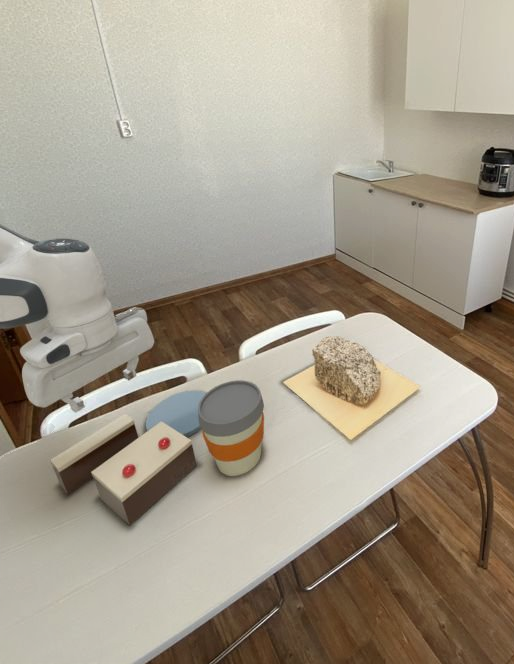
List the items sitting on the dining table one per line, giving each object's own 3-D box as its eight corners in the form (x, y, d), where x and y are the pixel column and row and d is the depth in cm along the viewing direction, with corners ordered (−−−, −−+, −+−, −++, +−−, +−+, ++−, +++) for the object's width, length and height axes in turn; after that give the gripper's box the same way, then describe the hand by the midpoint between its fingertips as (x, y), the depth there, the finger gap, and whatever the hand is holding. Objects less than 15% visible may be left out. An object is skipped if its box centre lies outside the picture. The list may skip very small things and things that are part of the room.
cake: (100, 498, 73) (88, 465, 70) (167, 445, 84) (159, 414, 81) (130, 526, 68) (118, 491, 65) (197, 465, 79) (189, 433, 76)
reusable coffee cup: (233, 427, 89) (224, 374, 84) (280, 441, 85) (274, 387, 79) (194, 473, 78) (181, 415, 72) (246, 492, 74) (236, 432, 68)
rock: (280, 382, 102) (300, 324, 103) (336, 383, 118) (354, 332, 118) (348, 440, 83) (373, 367, 83) (406, 432, 98) (426, 371, 99)
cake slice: (60, 486, 76) (49, 459, 73) (132, 437, 86) (125, 413, 84) (68, 495, 74) (57, 468, 71) (140, 444, 85) (133, 420, 82)
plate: (133, 425, 90) (131, 421, 89) (188, 386, 102) (187, 383, 101) (172, 452, 83) (171, 448, 82) (227, 407, 95) (226, 403, 94)
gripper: (133, 299, 77) (148, 357, 81) (6, 354, 60) (34, 423, 65) (153, 307, 74) (166, 366, 78) (25, 366, 57) (52, 437, 62)
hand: (106, 392), depth 71 cm, fingers open, 8 cm apart
